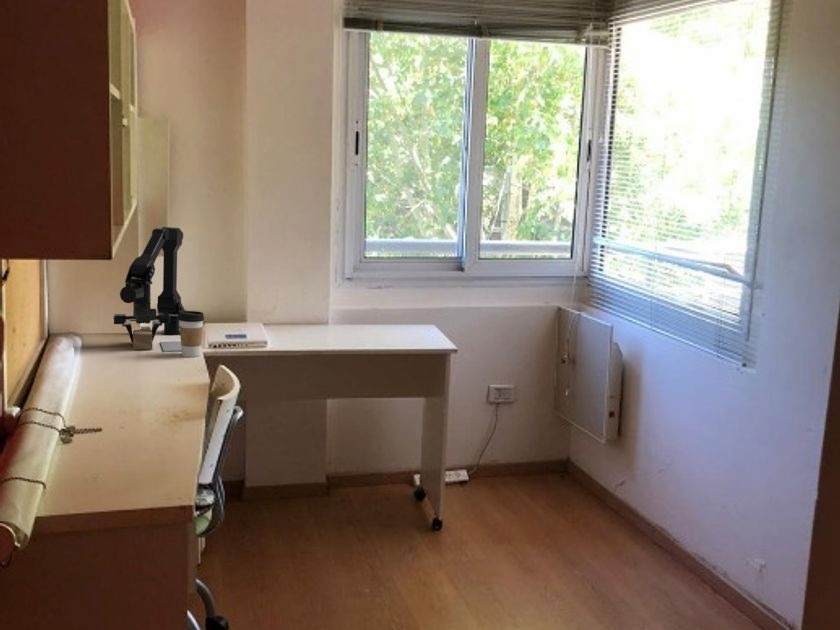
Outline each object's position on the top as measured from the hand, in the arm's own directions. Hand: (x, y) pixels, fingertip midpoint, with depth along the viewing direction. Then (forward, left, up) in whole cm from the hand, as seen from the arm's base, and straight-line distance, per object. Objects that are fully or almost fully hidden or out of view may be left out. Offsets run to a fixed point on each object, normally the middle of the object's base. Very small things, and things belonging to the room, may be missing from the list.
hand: (142, 342), depth 315 cm
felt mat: (+2, +11, -1) cm, 11 cm away
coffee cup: (+15, +15, -2) cm, 21 cm away
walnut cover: (0, 0, -1) cm, 1 cm away
